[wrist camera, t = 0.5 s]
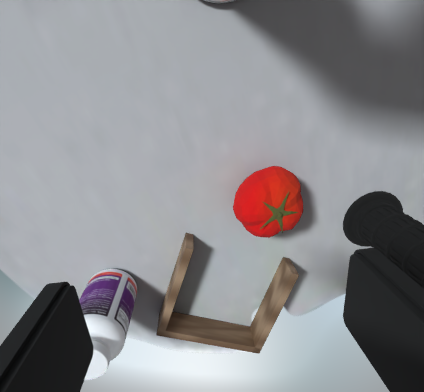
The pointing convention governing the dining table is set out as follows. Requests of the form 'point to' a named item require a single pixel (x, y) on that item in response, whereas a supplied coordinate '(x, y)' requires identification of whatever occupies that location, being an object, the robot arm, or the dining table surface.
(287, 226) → the tomato
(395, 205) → the handle grip
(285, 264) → the box
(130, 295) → the pill bottle
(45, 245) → the dining table surface
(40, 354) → the robot arm
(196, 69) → the dining table surface
